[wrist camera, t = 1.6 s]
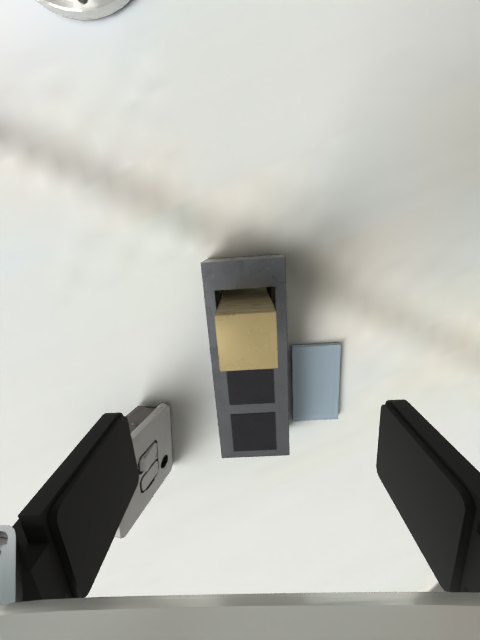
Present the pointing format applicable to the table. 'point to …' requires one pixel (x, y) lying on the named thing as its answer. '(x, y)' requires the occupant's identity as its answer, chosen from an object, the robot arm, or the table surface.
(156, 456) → the electrical switch
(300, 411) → the rubber mat
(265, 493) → the table surface
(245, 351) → the brass peg
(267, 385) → the rail
